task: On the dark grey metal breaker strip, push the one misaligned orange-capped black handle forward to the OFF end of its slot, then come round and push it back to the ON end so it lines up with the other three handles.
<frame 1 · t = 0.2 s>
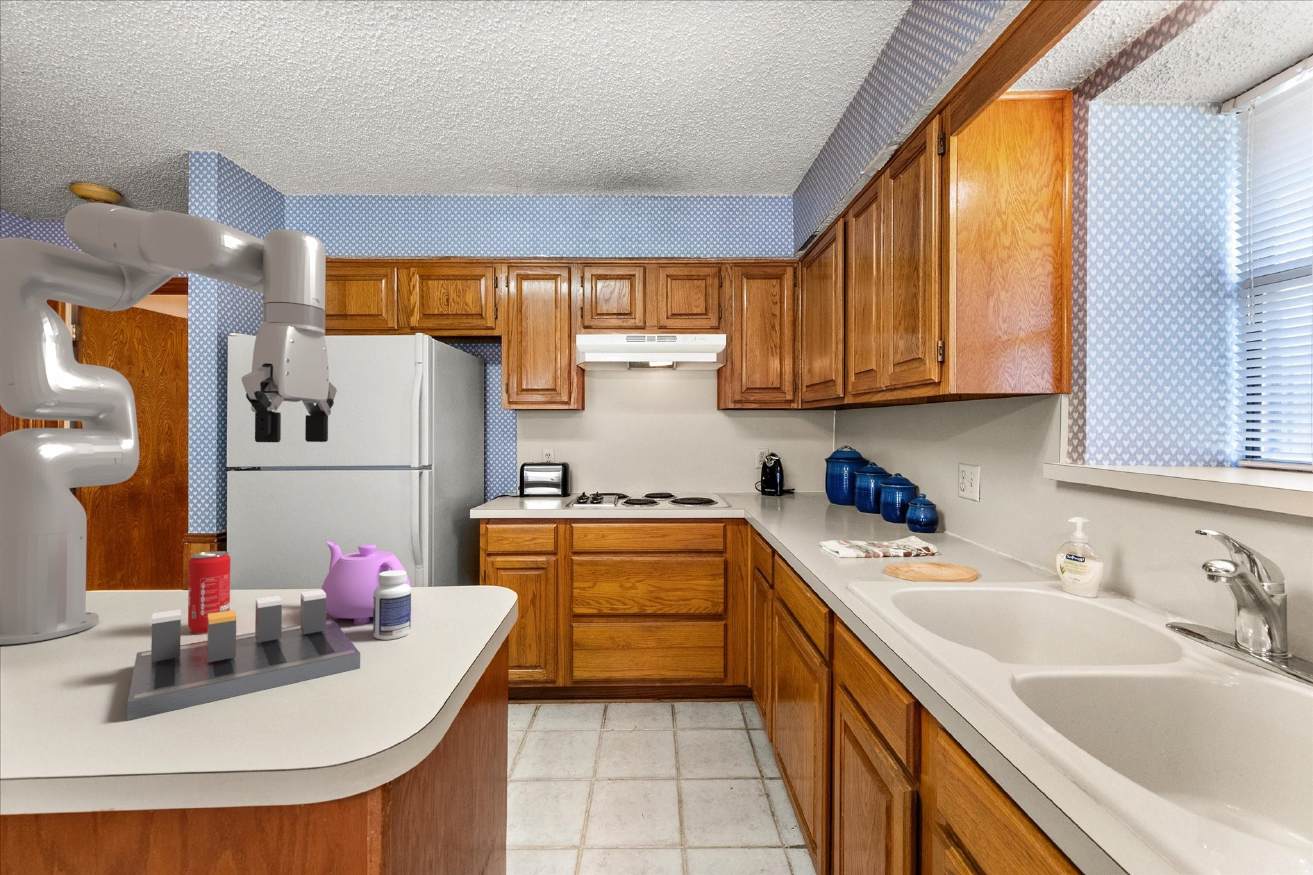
hand: (293, 442, 81), 30 cm above the counter, tool pointing down, fingers open, 9 cm apart
breaker 1: (166, 634, 74), point 5 cm above the counter, slide at 0.0 cm
breaker 3: (268, 618, 81), point 5 cm above the counter, slide at 0.0 cm
breaker 2 tripped: (221, 635, 74), point 5 cm above the counter, slide at 4.5 cm
breaker 4: (313, 611, 84), point 5 cm above the counter, slide at 0.0 cm
teapot: (362, 615, 100), on the counter
pill bottle: (392, 635, 90), on the counter
beverage can: (209, 630, 91), on the counter
panel: (249, 667, 76), on the counter
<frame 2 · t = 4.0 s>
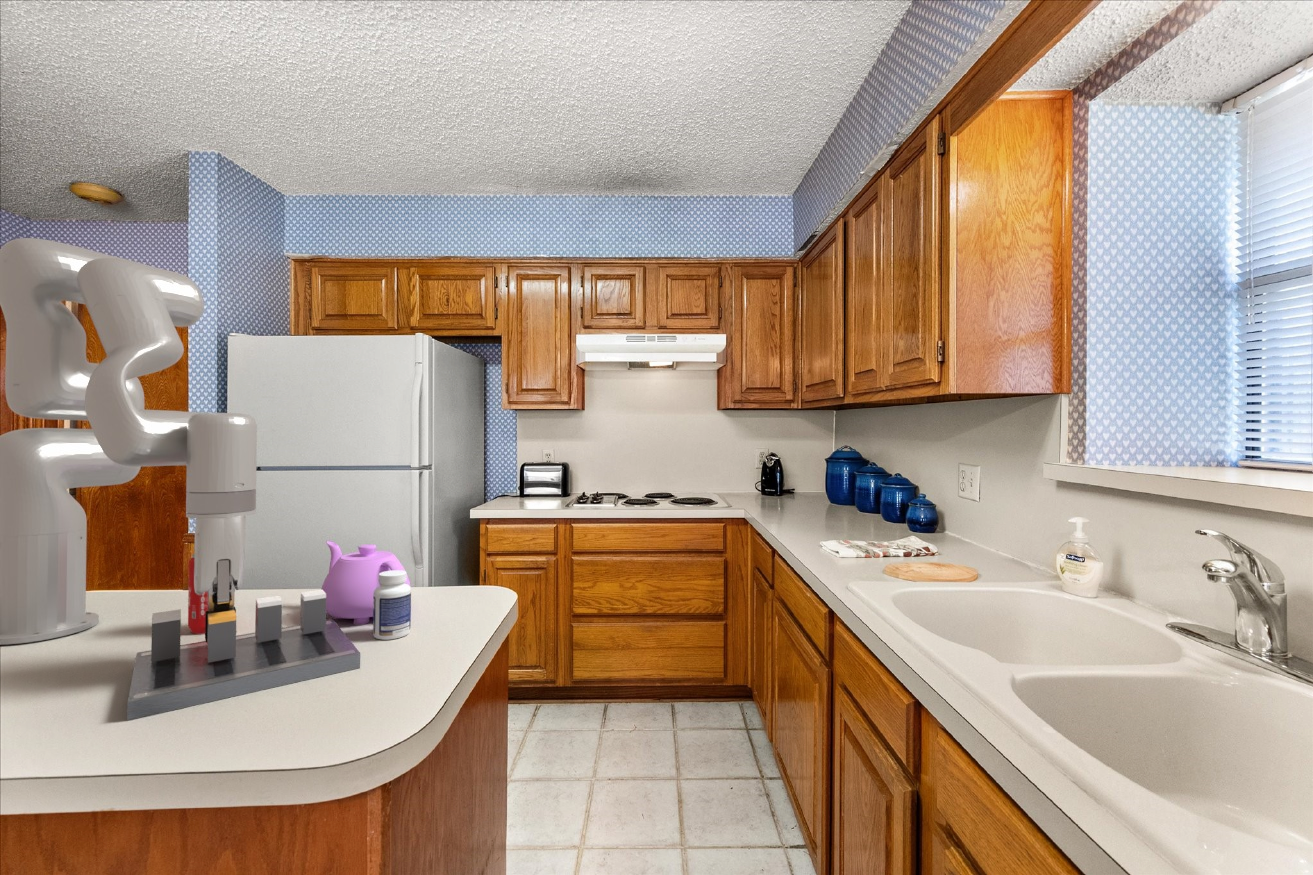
hand: (220, 639, 77), 3 cm above the counter, tool pointing down, fingers closed
breaker 2 tripped: (221, 635, 74), point 5 cm above the counter, slide at 4.6 cm, touching gripper
everything else where it was.
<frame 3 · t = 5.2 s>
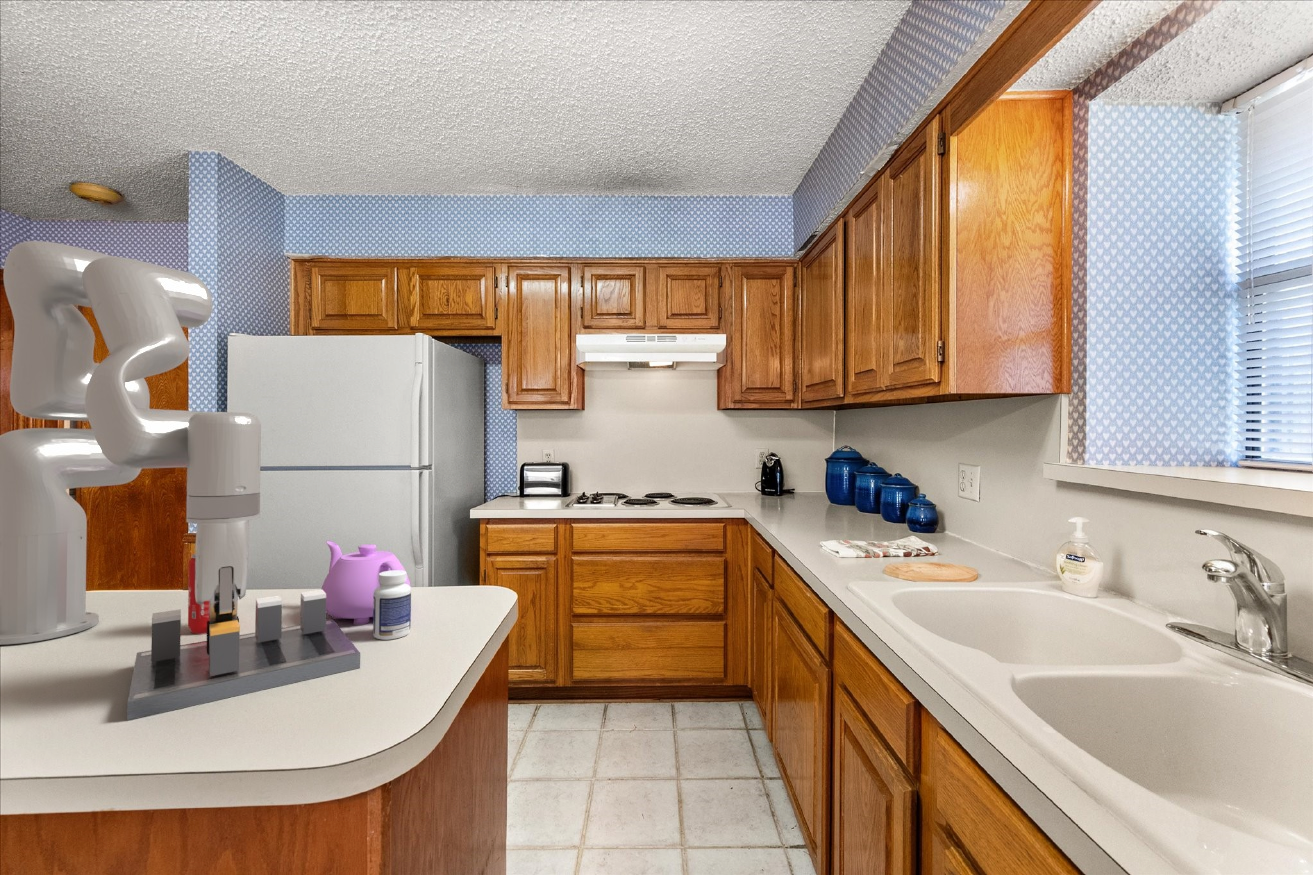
hand: (222, 650, 73), 3 cm above the counter, tool pointing down, fingers closed
breaker 2 tripped: (224, 647, 70), point 5 cm above the counter, slide at 9.8 cm, touching gripper
everything else where it was.
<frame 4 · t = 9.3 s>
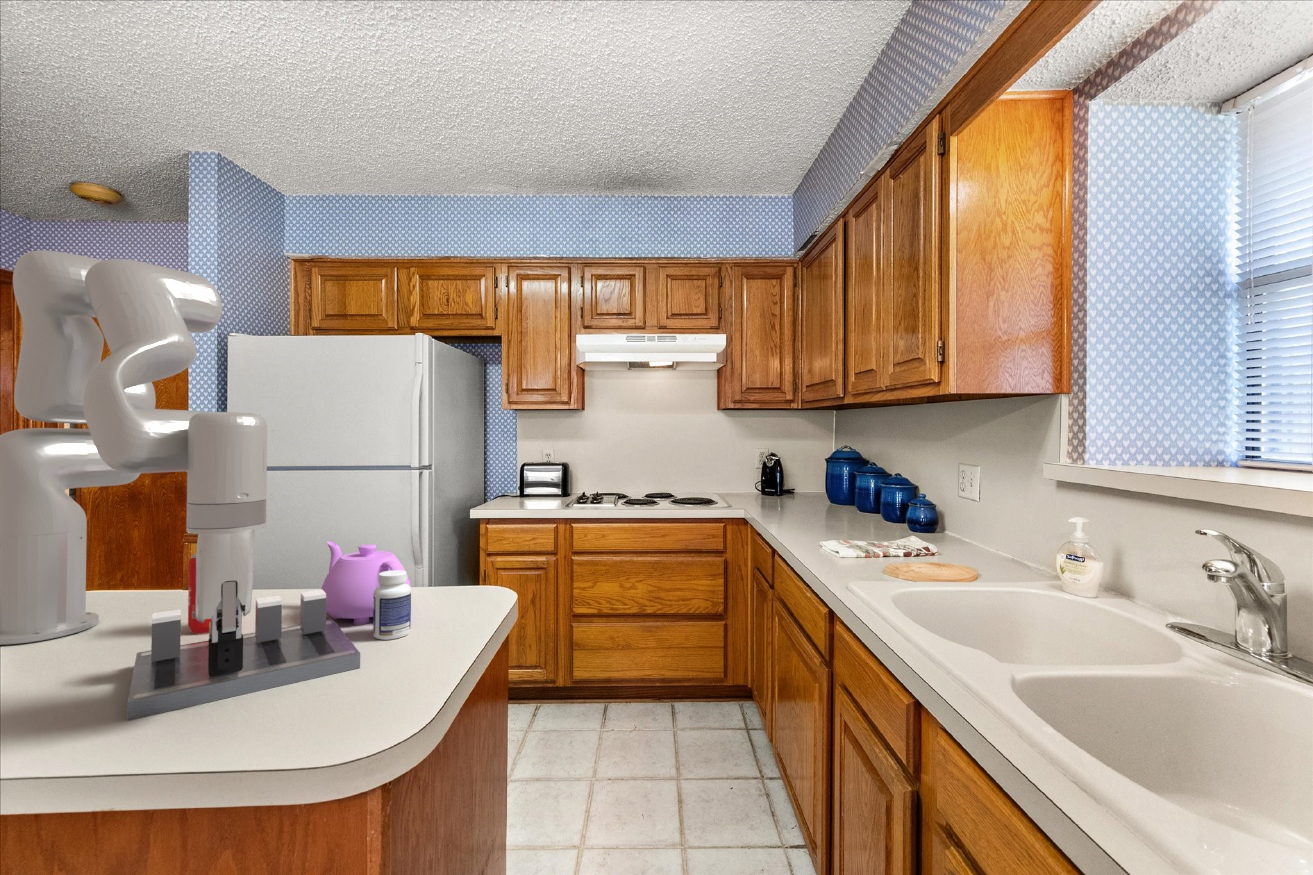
hand: (225, 671, 67), 3 cm above the counter, tool pointing down, fingers closed
breaker 2 tripped: (223, 644, 71), point 5 cm above the counter, slide at 8.8 cm, touching gripper
everything else where it was.
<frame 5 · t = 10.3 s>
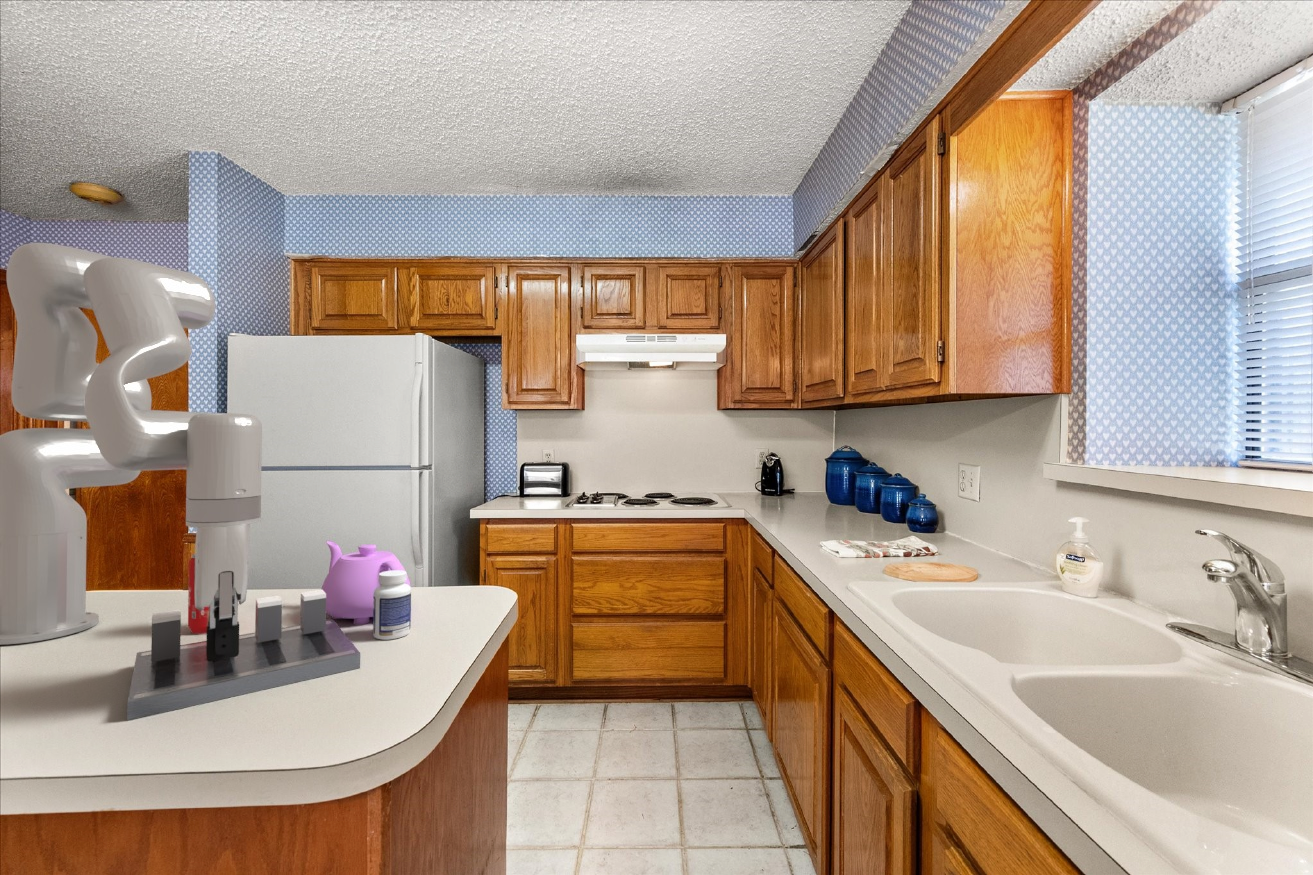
hand: (222, 656, 72), 3 cm above the counter, tool pointing down, fingers closed
breaker 2 tripped: (221, 632, 75), point 5 cm above the counter, slide at 3.1 cm, touching gripper
everything else where it was.
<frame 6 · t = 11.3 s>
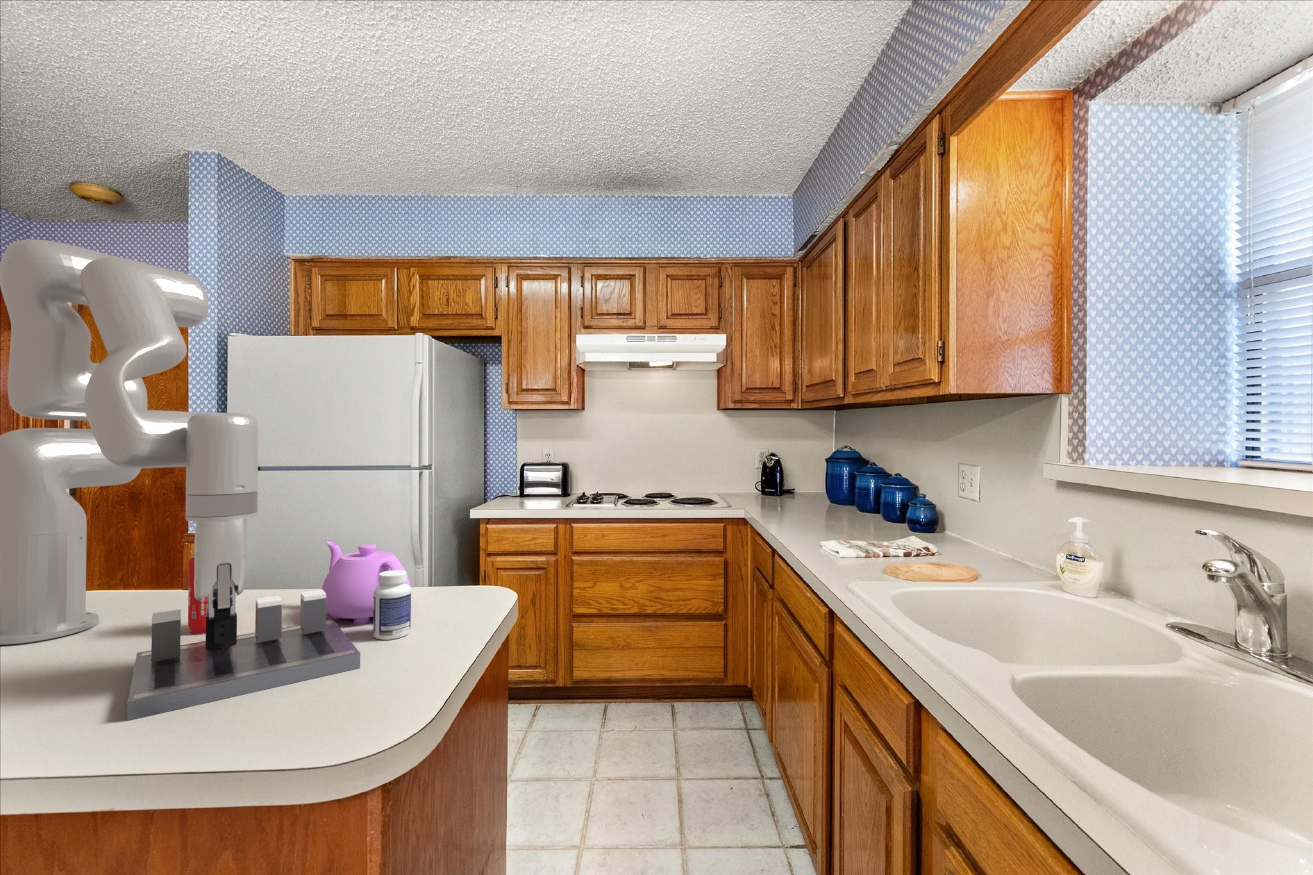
hand: (221, 645, 75), 3 cm above the counter, tool pointing down, fingers closed
breaker 2 tripped: (219, 624, 78), point 5 cm above the counter, slide at -1.1 cm, touching gripper
everything else where it was.
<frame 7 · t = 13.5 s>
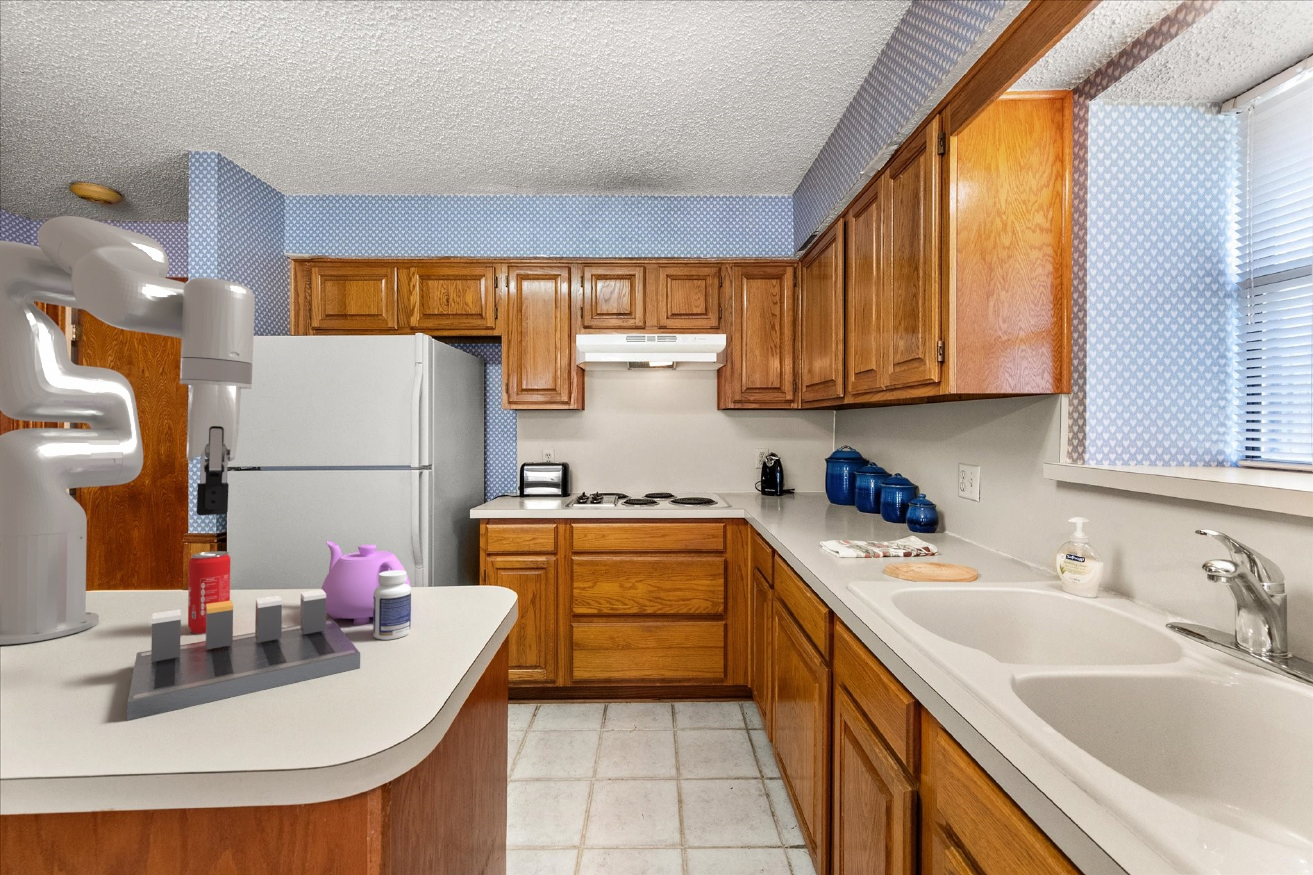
hand: (212, 513, 76), 21 cm above the counter, tool pointing down, fingers closed
breaker 2 tripped: (219, 624, 78), point 5 cm above the counter, slide at -1.0 cm
everything else where it was.
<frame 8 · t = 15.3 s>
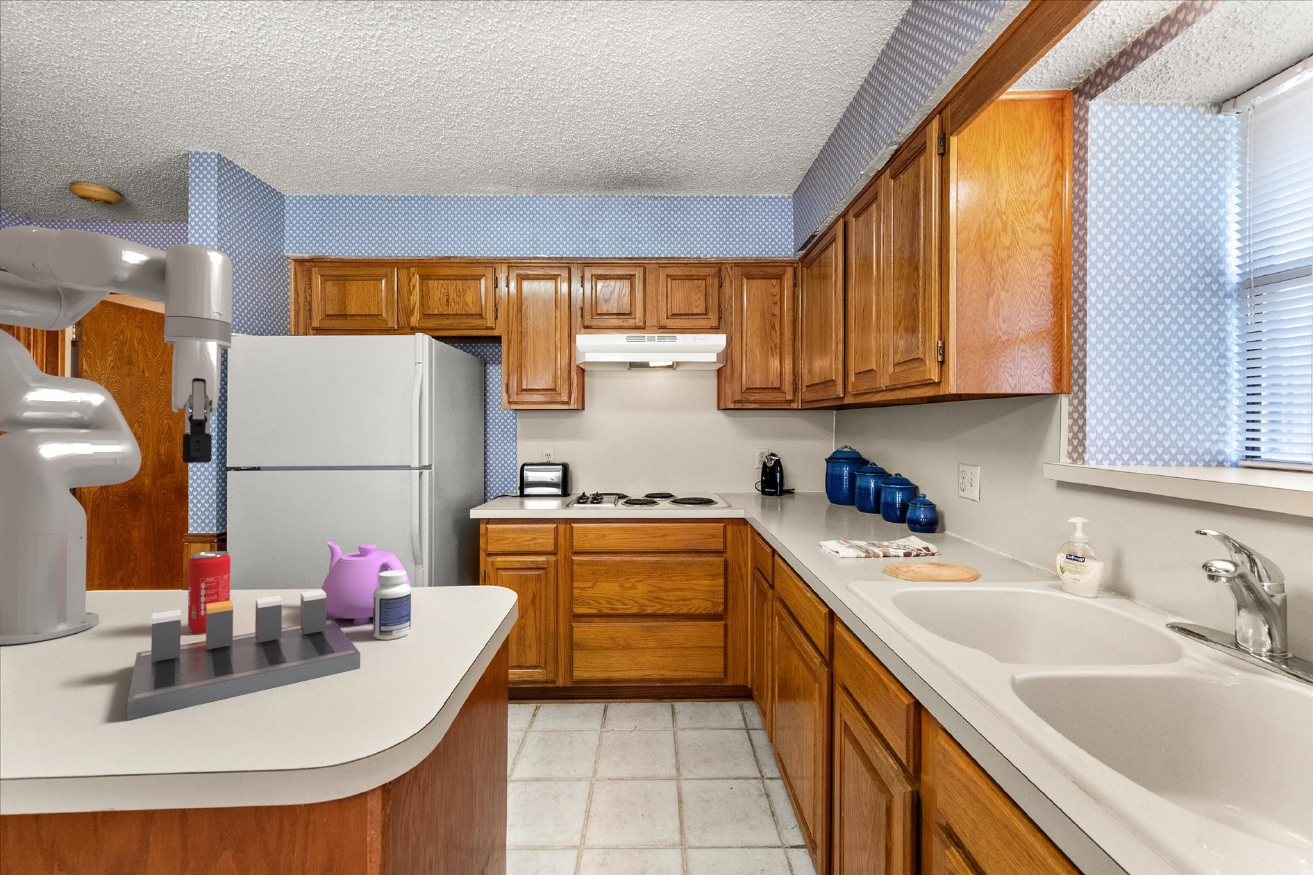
hand: (197, 462, 82), 27 cm above the counter, tool pointing down, fingers closed
nothing on the counter moved.
at the end: breaker 2 tripped slide at -1.0 cm; breaker 1 slide at 0.0 cm; breaker 3 slide at 0.0 cm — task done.
